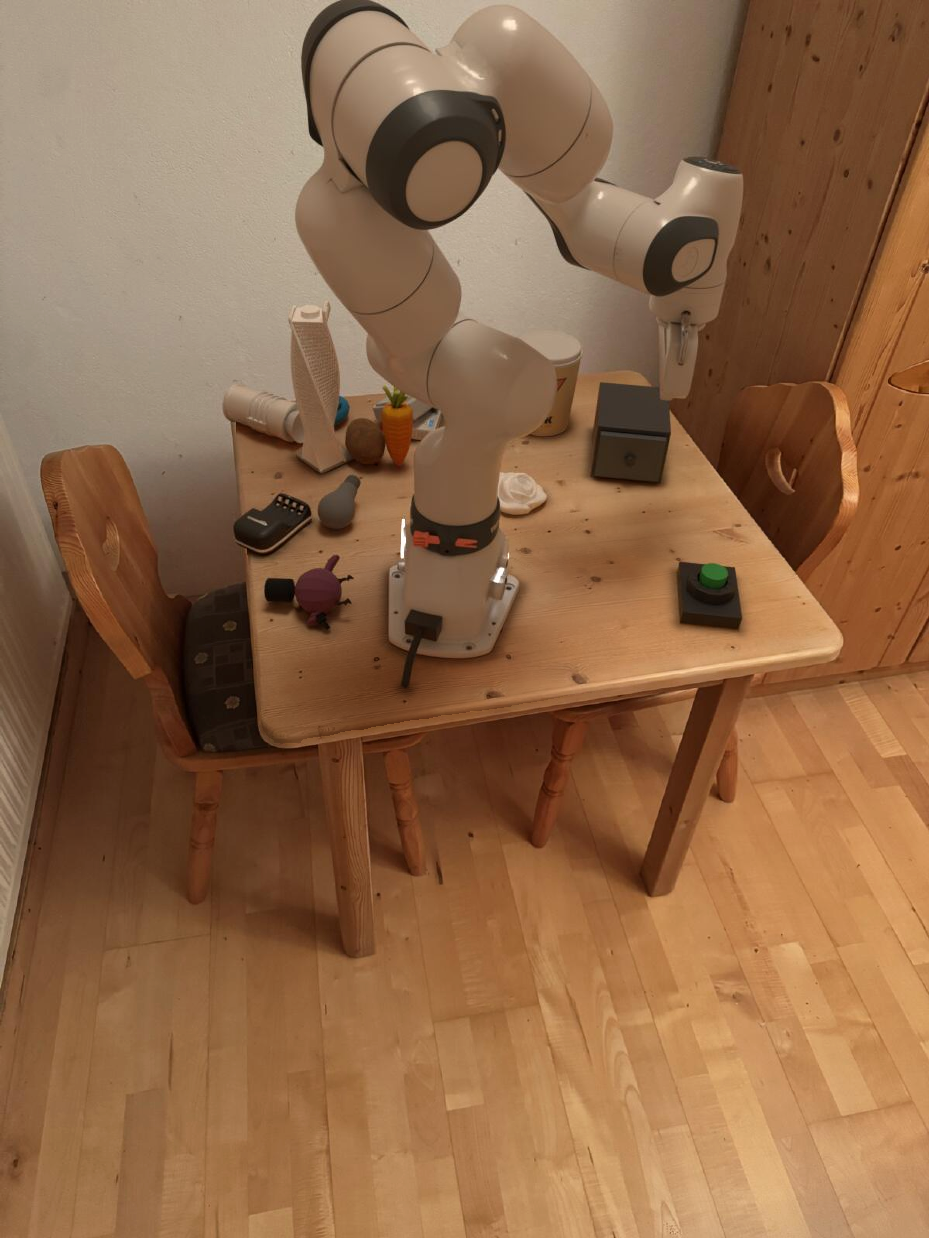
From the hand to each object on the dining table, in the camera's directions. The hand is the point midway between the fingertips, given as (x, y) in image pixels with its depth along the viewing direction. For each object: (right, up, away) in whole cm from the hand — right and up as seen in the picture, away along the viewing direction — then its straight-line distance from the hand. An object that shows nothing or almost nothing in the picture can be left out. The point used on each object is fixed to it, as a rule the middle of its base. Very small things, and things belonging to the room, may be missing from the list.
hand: (665, 395), depth 122 cm
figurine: (-55, -27, -1) cm, 61 cm away
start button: (+7, -25, +1) cm, 26 cm away
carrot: (-39, -5, +27) cm, 47 cm away
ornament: (-49, +5, +33) cm, 59 cm away
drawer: (0, -4, +29) cm, 29 cm away
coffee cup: (-14, +5, +38) cm, 41 cm away
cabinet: (0, -3, +31) cm, 31 cm away
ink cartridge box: (-32, +4, +36) cm, 48 cm away
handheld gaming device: (-41, +5, +30) cm, 51 cm away
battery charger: (-54, -13, +15) cm, 57 cm away
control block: (+7, -28, +4) cm, 29 cm away
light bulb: (-45, -9, +16) cm, 48 cm away
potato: (-45, +1, +24) cm, 51 cm away
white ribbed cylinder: (-55, +2, +28) cm, 62 cm away
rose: (-19, -12, +21) cm, 31 cm away
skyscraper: (-51, -4, +27) cm, 58 cm away
